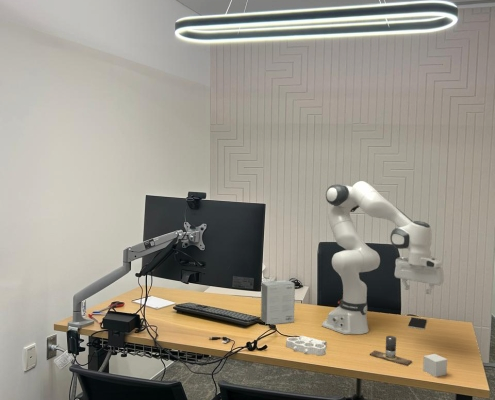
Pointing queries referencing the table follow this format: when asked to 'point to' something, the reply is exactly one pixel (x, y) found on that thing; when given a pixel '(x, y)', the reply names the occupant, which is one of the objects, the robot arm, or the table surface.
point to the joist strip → (396, 359)
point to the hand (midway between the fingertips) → (417, 291)
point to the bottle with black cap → (390, 347)
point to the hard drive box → (277, 302)
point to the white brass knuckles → (307, 345)
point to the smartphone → (417, 323)
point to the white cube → (435, 365)
